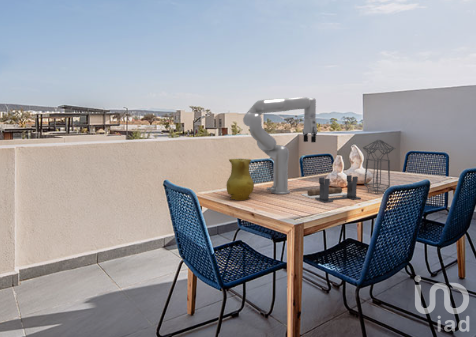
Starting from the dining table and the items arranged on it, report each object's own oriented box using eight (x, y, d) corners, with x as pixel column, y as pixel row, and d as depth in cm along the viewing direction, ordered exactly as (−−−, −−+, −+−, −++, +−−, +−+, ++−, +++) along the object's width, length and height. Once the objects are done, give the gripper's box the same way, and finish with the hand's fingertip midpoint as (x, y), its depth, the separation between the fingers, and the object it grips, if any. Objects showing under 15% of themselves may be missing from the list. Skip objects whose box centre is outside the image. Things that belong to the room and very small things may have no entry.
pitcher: (221, 199, 217) (222, 158, 215) (232, 195, 235) (233, 157, 233) (248, 202, 212) (249, 160, 210) (257, 197, 229) (259, 158, 227)
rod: (309, 196, 224) (310, 191, 223) (307, 194, 228) (307, 189, 227) (341, 193, 233) (342, 188, 232) (338, 191, 236) (339, 186, 235)
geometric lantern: (359, 191, 241) (361, 139, 237) (378, 189, 246) (380, 138, 242) (375, 195, 227) (377, 140, 222) (395, 193, 231) (397, 139, 227)
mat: (310, 198, 220) (310, 197, 220) (300, 195, 231) (300, 194, 231) (348, 194, 230) (348, 194, 230) (337, 191, 241) (337, 190, 241)
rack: (324, 202, 208) (325, 179, 206) (315, 199, 217) (315, 177, 216) (360, 198, 217) (361, 176, 216) (350, 195, 227) (350, 174, 225)
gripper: (321, 116, 235) (321, 142, 237) (307, 116, 251) (307, 141, 253) (312, 116, 232) (311, 142, 234) (298, 117, 248) (298, 141, 250)
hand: (309, 142), depth 244 cm, fingers open, 9 cm apart
